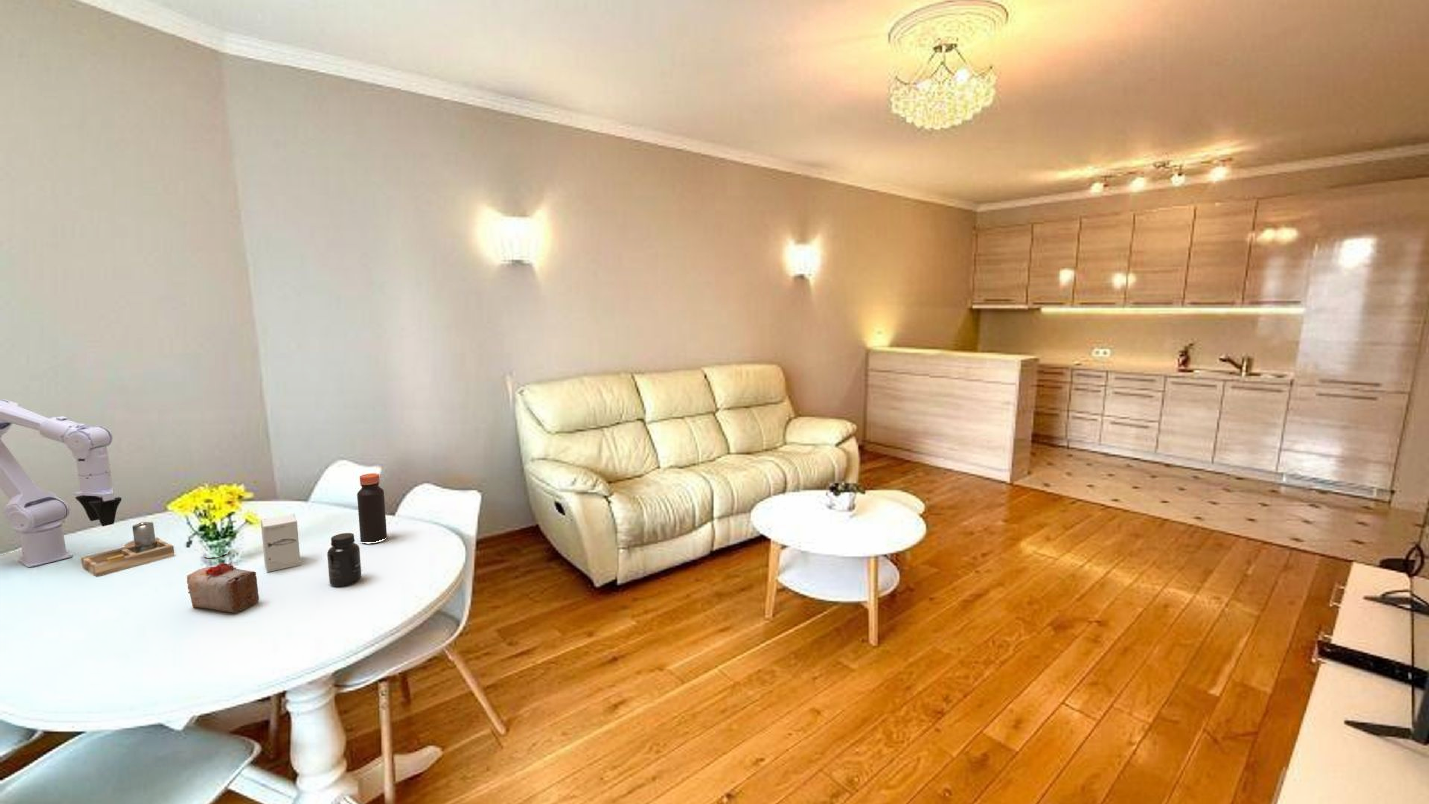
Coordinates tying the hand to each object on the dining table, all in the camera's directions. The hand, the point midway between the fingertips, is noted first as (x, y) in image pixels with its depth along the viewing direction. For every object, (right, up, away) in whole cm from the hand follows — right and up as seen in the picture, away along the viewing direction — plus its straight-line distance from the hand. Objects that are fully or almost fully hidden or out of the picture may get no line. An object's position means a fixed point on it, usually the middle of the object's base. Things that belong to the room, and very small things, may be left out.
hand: (102, 522), depth 151 cm
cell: (+9, -9, +3) cm, 13 cm away
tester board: (+7, -11, 0) cm, 13 cm away
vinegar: (+62, -9, +18) cm, 65 cm away
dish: (+2, -9, +8) cm, 13 cm away
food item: (+51, -15, -20) cm, 57 cm away
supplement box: (+48, -12, +1) cm, 49 cm away
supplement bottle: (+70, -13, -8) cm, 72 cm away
